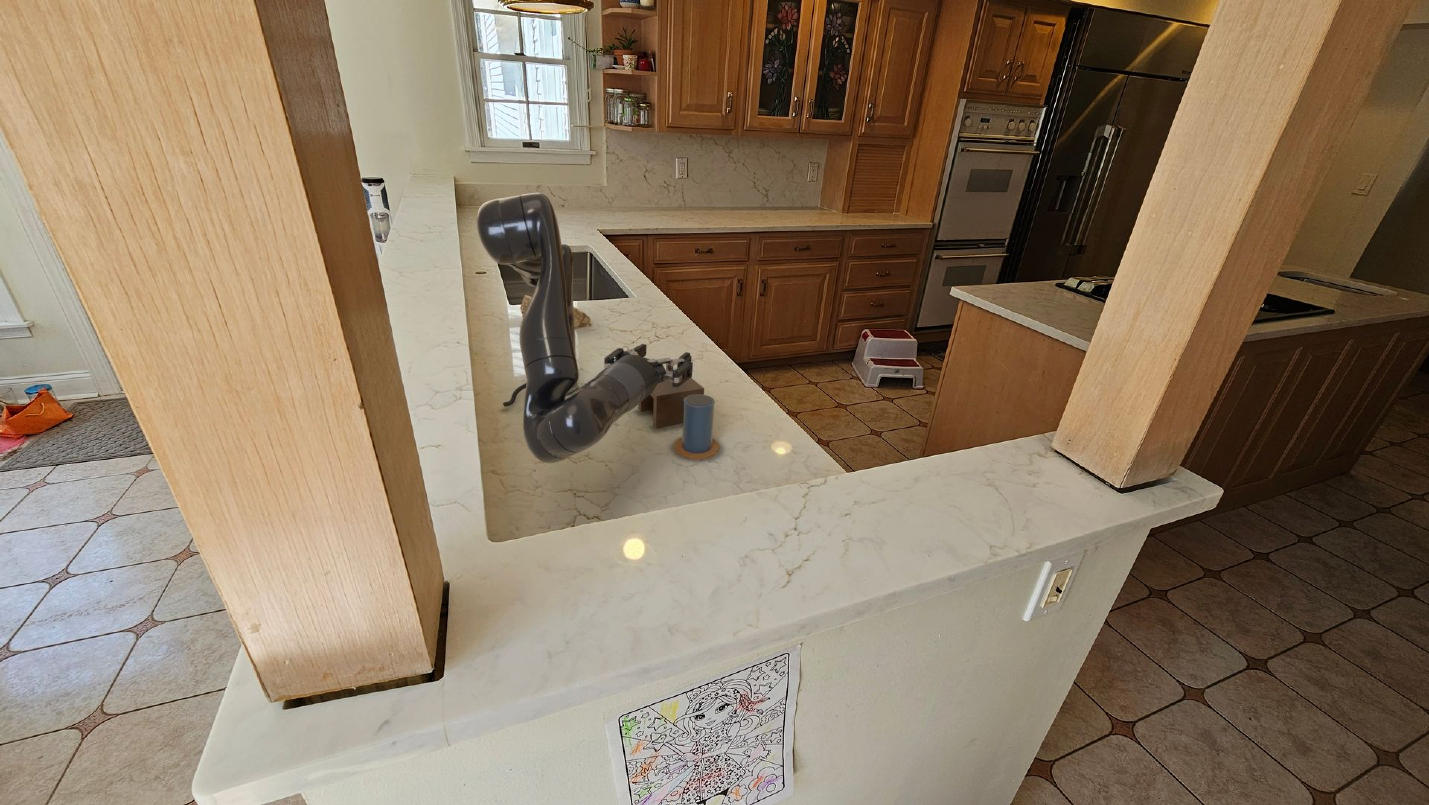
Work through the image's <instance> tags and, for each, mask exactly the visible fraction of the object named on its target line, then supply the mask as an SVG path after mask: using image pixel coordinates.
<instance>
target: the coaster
mask: <svg viewBox="0 0 1429 805" xmlns="http://www.w3.org/2000/svg"><path fill="white" fill-rule="evenodd" d="M673 449H674V452H675V453H676V454H678V455H679V456H680V457H682V458H686V459H689V460H698V461H699V460H706V459H709V458H713V457H714V456H716V455H717V454H718V453H719V451H720V444H719V443H718V441H716V440H715V439H714V438H712V448H711V449H710V450H709V451H707V452H705V453H691V452H688V451H686V450H684V449H683V447H682V437H680V438H677V439H676V441H675V442H674V444H673Z"/></svg>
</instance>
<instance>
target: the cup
mask: <svg viewBox="0 0 1429 805" xmlns="http://www.w3.org/2000/svg"><path fill="white" fill-rule="evenodd" d="M715 403H716V400H715V398H713V397H712V396H710V395H706V394H704V395H702V394H694V395H689V396H687V397H685V398H684V406H683V423H682V434H681V438H682V447H683V449H684V450H686V451H688V452H691V453H705V452H707V451H709V450H710V449H711V448H712V439H714V438H713V437H714V436H713V435H714V420H715Z"/></svg>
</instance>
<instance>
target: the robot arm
mask: <svg viewBox="0 0 1429 805" xmlns="http://www.w3.org/2000/svg"><path fill="white" fill-rule="evenodd" d="M559 227H560V226H559V223H558V218H557V215H556V212H555V208H554V207H553V204H552V202H551V200H550V199H549V197H548V196H547V195H546V194H545V193H542V192H529V193H523V194H518V195H512V196H507V197H501V198H494V199H491V200H488V201H485V202H484V203H483V204H481V205H480V206H479V209H478V211H477V214H476V230H477V234H478V238H479V240H480V243H481V245H482V247H483V248H484V251H485V252H486V253H487V255H488V256H489V257H490V259H492V260H493V261H494V263H496V264H498V265H504V266H509V267H511V268H512V269H513V270H514V271H515V272H516V273H518V274H520V276H521V278H522V280H523V281H524V283H525V284H526V285H528V286H530V287H534V288H535V289H534V291H533V294H532V296H531V297H532V298H531V300H530V303H529V305H528V307H527V309H526V311H525V314H524V316H523V317H522V319H521V323H520V326H519V327H520V328H519V338H518V339H519V347H520V352H521V359H522V362H523V369H524V373H525V378H526V382H525V383H523V384H521V385H520V386H518V387H517V388H515V389H514V391H513V392H512V393H511V397H510V399H509V400H508V401H504V402H502V405H503V408H506V407H510V406H511V405H513V404H514V403H515V402H516V399H517V396H518V394H520V393H521V392H522V391H523V390H525V393H524V404H523V406H524V407H523V419H522V420H523V421H522V429H523V431H522V432H523V437H524V439H525V443H526V446H527V448H528V450H529V451H530V453H531V454H532V455H533V457H535V458H536V459H537V460H538V461H540V462H543V463H546V464H556V463H559V462H561V461H564V460H566V459H568V458H570V457H572V456H574V455H577V454H579V453H581V452H583V451H586V450H588V449H590V448H592V447H594V445H596V444H597V443H599V442H600V441H601V440H602V439H603V438H604V437H605V436H606V435H607V434H608V432H609V430H610V429H611V428H612V426H613V424H614V423H616V422H617V421H618V420H620V418H622V417H623V416H625V415H626V414H627V413H629V412H631V411H632V410H634V409H635V408H637V407H638V404H639V403H641V402H642V401H643V400H644V399H645V398H647V397H648V396H649V395H650V394H651V393H652V392H653V391H654V389H655V387H656V386H657V384H658V383H661V382H664V381H665V380H666V381H670V382H672V386H673V387H679V386H681V385H682V384H683V383H684V382H686V381H687V380H688V379H690V378H692V377H693V371H694V370H693V367H694V363H693V361H692V357H693V356H692V355H691V352H687V351H686V352H684V353H682V355H680V356H679V357H678V358H674V359H673V358H672V359H671V358H670V357H665V358H657V359H655V358H648V357H646V356H647V349H648V348H647V344H645V343H641V344H639V345H637V346H635V347H634V348H628V349H627V350H625V349H624V348H622V347H618V348H616V349H614V350H613V351H612V352H611V353H609V354H608V355H606V356H605V357H604V358H603V359H604V360H603V363H604V365H603V367H604V369H603V370H601V371H600V372H598V374H597V375H596V376H595V377H593V378H592V379H591V380H589V381H587V382H586V383H584V384H583V385H582V386H580V387H579V389H578V381H579V379H580V378H579V377H580V372H579V366H578V361H577V350H576V331H575V330H576V328H575V325H574V307H575V306H574V257H573V256H574V255H573V251H572V248H571V247H570V246H569V245H568V244H565V243H562V238H561V232H560V228H559ZM664 365H665V366H664ZM674 366H676V368H674ZM575 391H576V392H575ZM574 392H575V393H574ZM571 393H574V394H573V395H570V396H569V397H567V396H568V394H571ZM566 397H567V398H566Z"/></svg>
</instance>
